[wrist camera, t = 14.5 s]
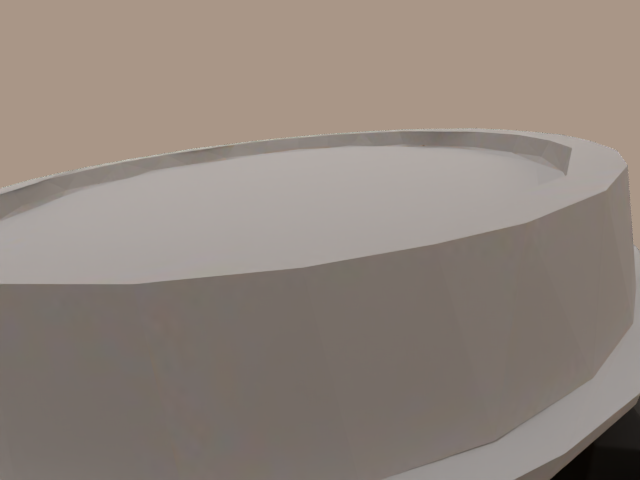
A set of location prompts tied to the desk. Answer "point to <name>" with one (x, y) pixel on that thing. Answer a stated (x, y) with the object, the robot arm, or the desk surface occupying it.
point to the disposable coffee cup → (320, 310)
